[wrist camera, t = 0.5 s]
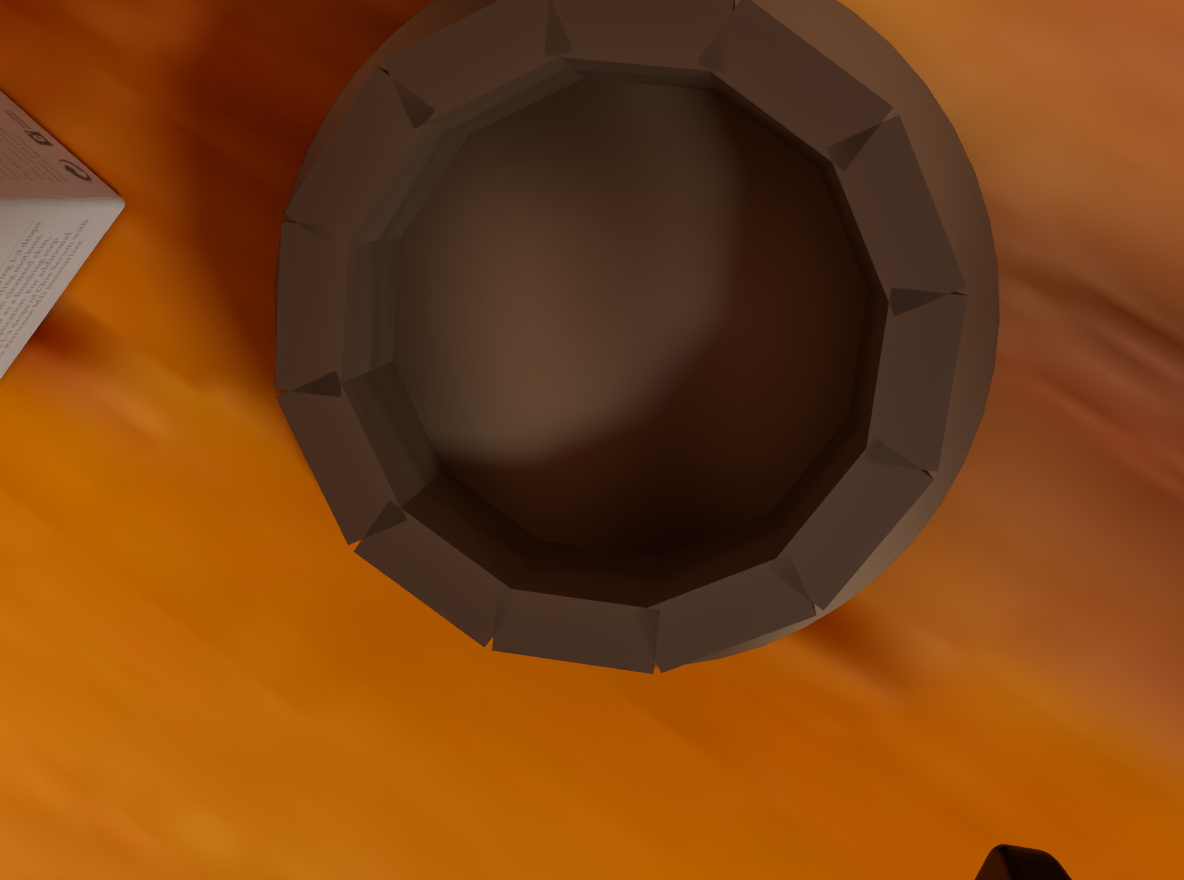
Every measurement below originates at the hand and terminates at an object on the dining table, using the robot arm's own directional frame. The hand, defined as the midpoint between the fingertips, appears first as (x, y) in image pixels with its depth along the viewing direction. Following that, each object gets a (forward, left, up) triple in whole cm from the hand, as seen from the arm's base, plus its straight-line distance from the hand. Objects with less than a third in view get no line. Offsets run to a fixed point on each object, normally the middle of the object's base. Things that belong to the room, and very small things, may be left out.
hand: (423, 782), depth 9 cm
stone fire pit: (+1, +2, -14) cm, 15 cm away
